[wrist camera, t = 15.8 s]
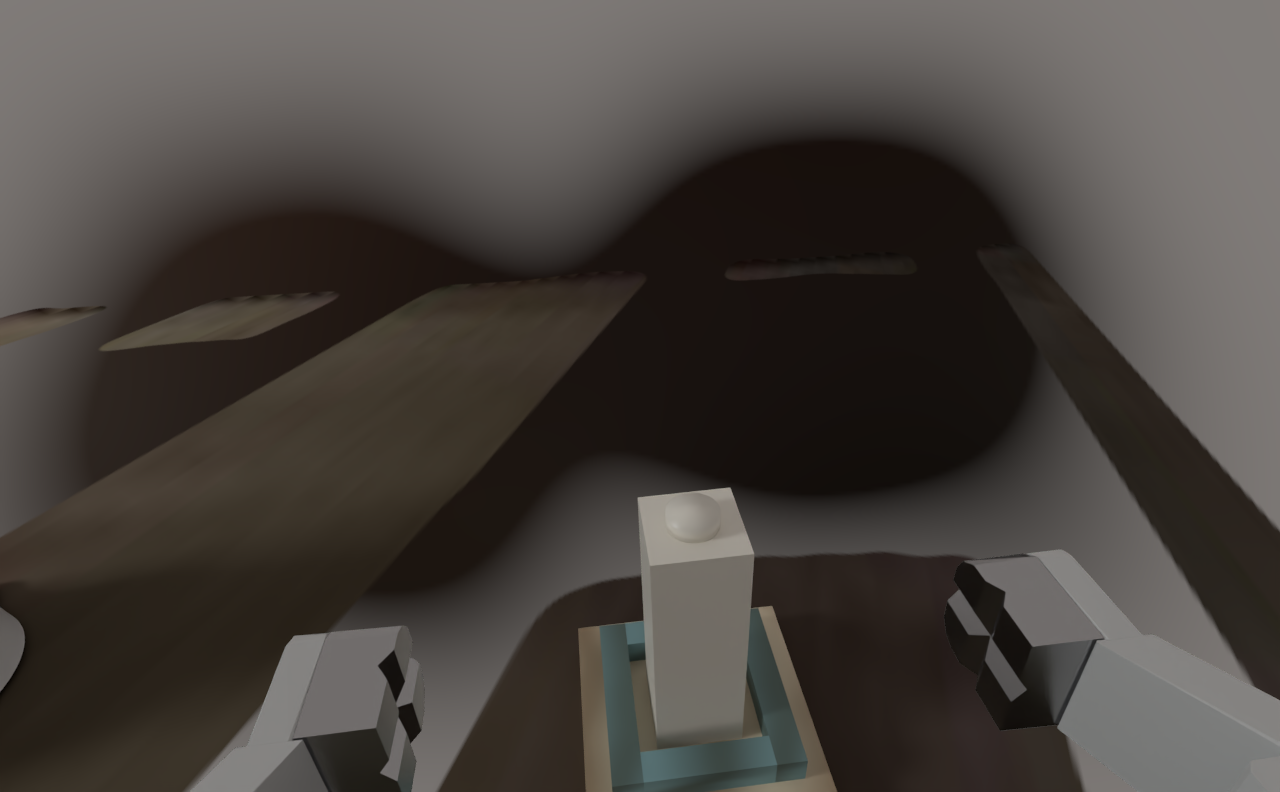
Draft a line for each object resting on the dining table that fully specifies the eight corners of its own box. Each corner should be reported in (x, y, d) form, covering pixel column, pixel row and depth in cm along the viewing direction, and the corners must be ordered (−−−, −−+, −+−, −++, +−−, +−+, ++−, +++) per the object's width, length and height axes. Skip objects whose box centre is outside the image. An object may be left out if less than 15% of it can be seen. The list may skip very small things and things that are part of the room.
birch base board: (591, 858, 33) (585, 819, 32) (581, 650, 44) (576, 611, 42) (836, 823, 34) (844, 784, 33) (770, 627, 45) (773, 588, 43)
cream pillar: (657, 749, 36) (649, 551, 29) (646, 675, 40) (636, 484, 32) (742, 737, 36) (755, 539, 29) (723, 665, 40) (730, 474, 33)
